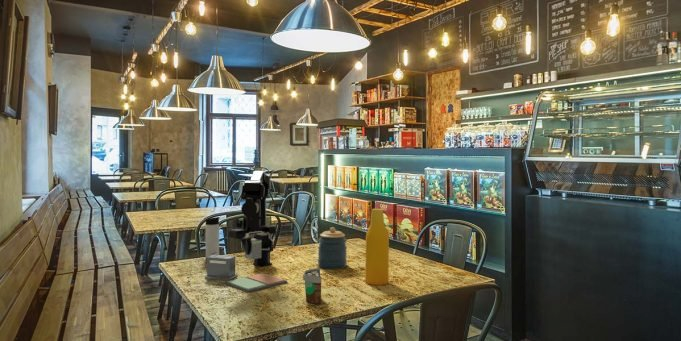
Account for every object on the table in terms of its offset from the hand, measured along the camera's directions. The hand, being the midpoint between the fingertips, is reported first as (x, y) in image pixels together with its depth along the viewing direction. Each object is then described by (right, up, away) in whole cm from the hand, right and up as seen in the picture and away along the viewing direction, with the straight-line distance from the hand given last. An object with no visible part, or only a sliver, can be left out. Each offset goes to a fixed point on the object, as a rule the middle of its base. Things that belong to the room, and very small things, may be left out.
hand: (252, 253), depth 180 cm
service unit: (-15, -11, +10) cm, 21 cm away
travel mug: (-27, -10, +43) cm, 52 cm away
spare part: (0, -2, 0) cm, 2 cm away
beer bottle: (+48, -12, +5) cm, 50 cm away
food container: (+24, -13, -19) cm, 33 cm away
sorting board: (+1, -12, +2) cm, 12 cm away
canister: (+30, -11, +30) cm, 44 cm away
